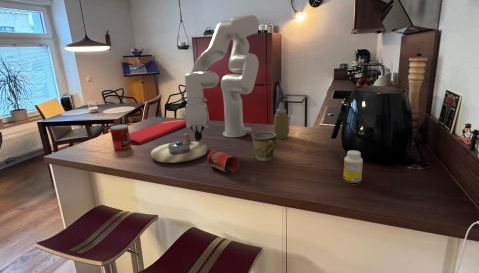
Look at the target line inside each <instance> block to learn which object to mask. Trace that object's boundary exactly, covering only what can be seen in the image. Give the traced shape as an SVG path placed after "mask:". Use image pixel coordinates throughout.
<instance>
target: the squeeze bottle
mask: <svg viewBox="0 0 479 273" xmlns="http://www.w3.org/2000/svg"><path fill="white" fill-rule="evenodd" d="M275 110H276V113H274V119H273V127H272V128H273V129H272V132H273V133H275V134H276V140H284V139H288V136H289V134H290V125H289V115H288V114H287V110H286V109H285V108H284V104H283V101H282V102H281V101H280V102H279V105H278V108H277V109H275Z"/></svg>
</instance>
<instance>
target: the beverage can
mask: <svg viewBox="0 0 479 273" xmlns="http://www.w3.org/2000/svg"><path fill="white" fill-rule="evenodd" d="M206 159H207V163H208V164H209V165H210V166H211V167H213V168H215V169H217V170H219V171H222V172H224V173H227V174H234V173H235V172H236V171H237V170H238V169H239V164H240V160H239V158H238V157H237V156H235V155H231V154H229V153H226V152H223V151H220V150H218V149H217V150H215V149H213V150H211V151H210V152H209V153H208V155H207V158H206ZM226 170H227V171H226ZM228 171H229V172H228Z"/></svg>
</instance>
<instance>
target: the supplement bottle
mask: <svg viewBox="0 0 479 273" xmlns="http://www.w3.org/2000/svg"><path fill="white" fill-rule="evenodd" d="M361 154H362V153H361V152H360V151H359V150H354V149H353V150H348V151H347V154H346V156H344V160H343V161H344V163H343V175H342V179H344V180H345V181H346V182H350V183H358V182H360V181H362V174H363V173H362V172H363V164H364V162H363V160H364V159H363V158H362V156H361ZM344 180H343V181H344ZM345 181H344V182H345ZM346 182H345V183H346ZM360 183H361V182H360ZM358 184H359V183H358Z"/></svg>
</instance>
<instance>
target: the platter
mask: <svg viewBox="0 0 479 273" xmlns="http://www.w3.org/2000/svg"><path fill="white" fill-rule="evenodd" d="M183 136H184V141H187V142H189V143H190V151H189V152H187V153H184V154H170V153H169V148H168V145H169V144H170V143H171V142H170V143H165V144H162V145H161V144H160V145H159V146H157V147H155V148H153V149H152V150H151V152H150V157H151V158H152V159H153V160H154V161H156V162H161V163H170V164H171V163H182V162H188V161H189V162H190V161H192V160H196V159H199V158H201V157H203V156H205V155H206V154H207V152H208V146H207V145H206V144H205V143H202V142H200V141H191V137H190V133H184V135H183Z"/></svg>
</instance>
